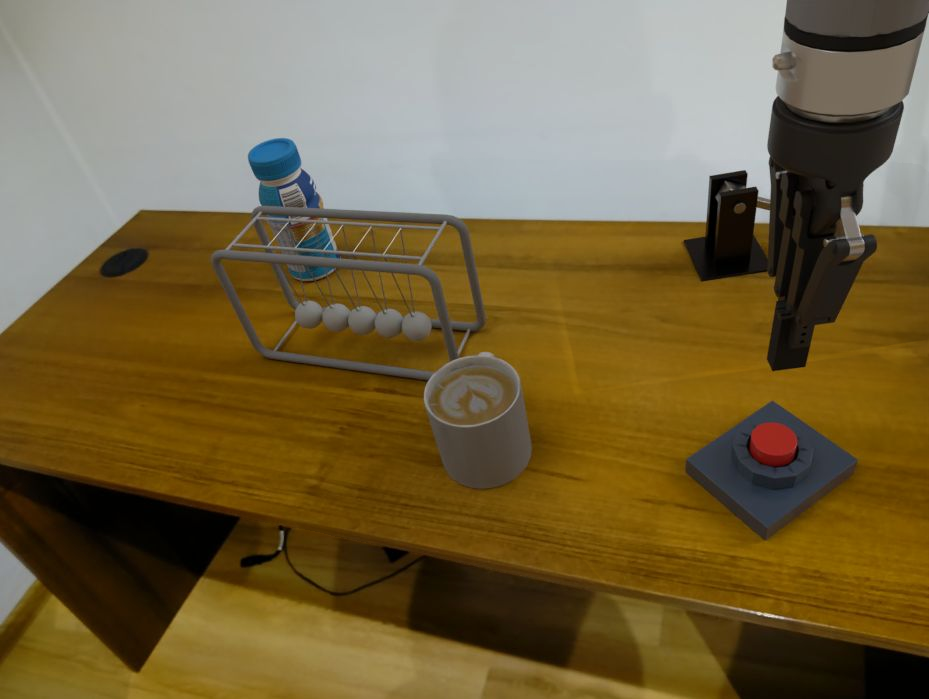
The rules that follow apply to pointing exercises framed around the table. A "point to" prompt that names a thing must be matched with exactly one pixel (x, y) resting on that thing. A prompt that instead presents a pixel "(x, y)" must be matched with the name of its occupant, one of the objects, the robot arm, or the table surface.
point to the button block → (769, 472)
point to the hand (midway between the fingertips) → (785, 362)
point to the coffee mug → (479, 420)
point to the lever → (729, 186)
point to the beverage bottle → (291, 202)
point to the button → (773, 444)
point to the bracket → (728, 232)
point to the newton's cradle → (361, 317)
